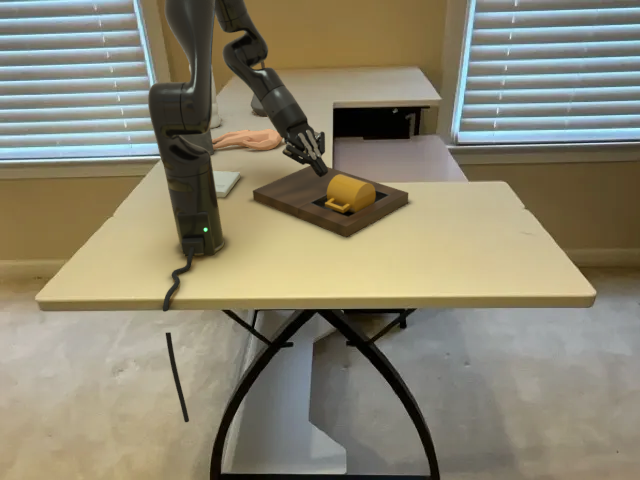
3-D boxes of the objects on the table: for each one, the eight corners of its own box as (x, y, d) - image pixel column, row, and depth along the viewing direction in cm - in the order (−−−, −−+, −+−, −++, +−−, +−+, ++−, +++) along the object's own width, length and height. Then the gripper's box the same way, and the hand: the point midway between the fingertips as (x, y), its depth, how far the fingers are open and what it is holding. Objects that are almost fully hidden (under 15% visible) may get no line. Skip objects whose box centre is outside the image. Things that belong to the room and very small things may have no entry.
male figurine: (210, 129, 178) (293, 119, 177) (214, 146, 181) (296, 135, 180) (205, 142, 170) (292, 131, 168) (209, 159, 173) (294, 148, 171)
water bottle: (194, 126, 192) (180, 41, 177) (212, 120, 196) (199, 37, 181) (206, 131, 188) (193, 44, 173) (225, 125, 192) (213, 40, 177)
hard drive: (240, 177, 157) (225, 197, 147) (211, 176, 158) (194, 196, 148) (240, 171, 156) (224, 191, 146) (210, 170, 157) (193, 189, 147)
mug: (345, 168, 138) (374, 177, 133) (349, 196, 143) (377, 205, 138) (317, 188, 133) (345, 198, 128) (322, 216, 138) (349, 227, 133)
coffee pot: (287, 116, 197) (283, 67, 188) (252, 119, 196) (247, 70, 187) (281, 98, 214) (278, 53, 205) (249, 100, 213) (244, 55, 204)
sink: (309, 212, 138) (308, 202, 137) (351, 191, 147) (351, 181, 146) (348, 227, 132) (348, 217, 130) (390, 204, 140) (390, 194, 139)
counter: (253, 200, 145) (252, 190, 144) (315, 172, 158) (315, 163, 156) (346, 237, 128) (346, 226, 127) (408, 202, 141) (408, 192, 139)
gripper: (270, 109, 133) (312, 175, 133) (311, 95, 140) (351, 157, 141) (256, 128, 139) (297, 191, 139) (296, 114, 146) (335, 174, 147)
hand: (324, 174), depth 140 cm, fingers closed
